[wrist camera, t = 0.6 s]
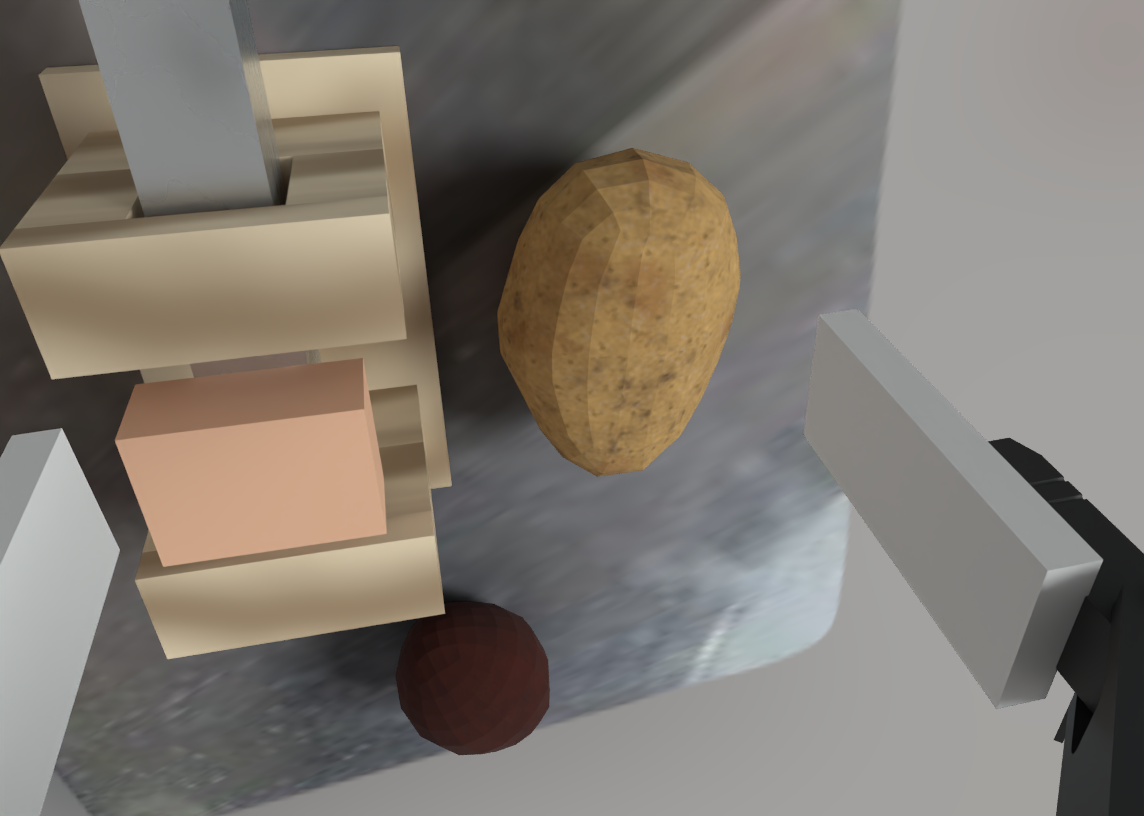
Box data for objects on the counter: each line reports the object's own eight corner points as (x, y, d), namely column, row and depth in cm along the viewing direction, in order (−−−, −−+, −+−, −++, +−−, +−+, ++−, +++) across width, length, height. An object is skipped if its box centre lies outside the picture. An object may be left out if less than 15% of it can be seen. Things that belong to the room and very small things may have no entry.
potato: (483, 411, 42) (507, 522, 36) (487, 111, 34) (519, 183, 28) (678, 400, 44) (734, 502, 38) (724, 113, 36) (804, 181, 30)
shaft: (37, -184, 23) (-32, -180, 19) (245, -189, 24) (223, -185, 20) (256, 553, 38) (245, 647, 34) (379, 534, 39) (383, 624, 35)
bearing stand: (46, 67, 31) (-78, 177, 22) (398, 45, 32) (417, 138, 24) (195, 508, 42) (154, 699, 33) (449, 473, 44) (475, 644, 35)
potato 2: (478, 541, 47) (498, 654, 41) (568, 630, 52) (597, 742, 46) (355, 615, 48) (356, 737, 42) (455, 695, 53) (469, 814, 47)
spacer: (135, 384, 28) (114, 440, 25) (363, 357, 29) (364, 409, 26) (177, 505, 31) (163, 566, 28) (383, 477, 32) (386, 533, 29)
